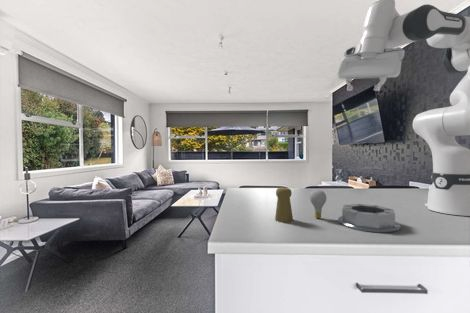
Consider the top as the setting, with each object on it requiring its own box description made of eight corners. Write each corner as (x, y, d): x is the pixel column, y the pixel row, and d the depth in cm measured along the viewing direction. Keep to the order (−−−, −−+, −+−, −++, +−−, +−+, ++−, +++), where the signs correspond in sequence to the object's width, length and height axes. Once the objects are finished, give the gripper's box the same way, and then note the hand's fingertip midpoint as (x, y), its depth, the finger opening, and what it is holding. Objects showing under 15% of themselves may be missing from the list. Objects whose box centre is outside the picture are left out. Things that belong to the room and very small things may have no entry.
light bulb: (328, 220, 77) (327, 190, 77) (310, 220, 78) (310, 190, 78) (325, 216, 83) (324, 188, 82) (309, 215, 84) (308, 188, 83)
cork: (293, 222, 76) (293, 189, 76) (275, 222, 77) (274, 189, 76) (292, 217, 82) (291, 186, 81) (274, 217, 83) (274, 186, 82)
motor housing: (367, 214, 84) (367, 201, 84) (414, 229, 68) (414, 213, 68) (327, 218, 80) (327, 205, 80) (367, 235, 63) (367, 218, 63)
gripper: (409, 49, 76) (398, 92, 78) (347, 56, 91) (339, 92, 94) (403, 43, 72) (392, 88, 74) (339, 51, 87) (331, 89, 89)
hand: (362, 90), depth 84 cm, fingers open, 8 cm apart
